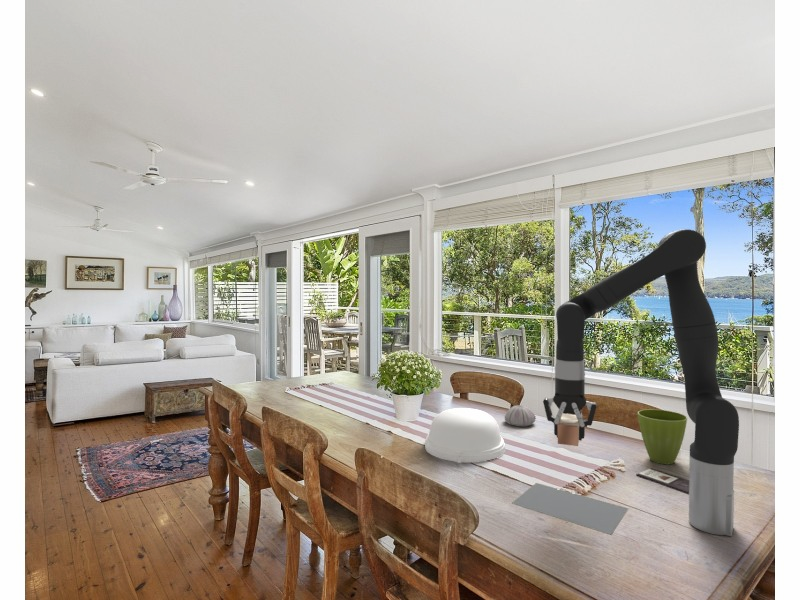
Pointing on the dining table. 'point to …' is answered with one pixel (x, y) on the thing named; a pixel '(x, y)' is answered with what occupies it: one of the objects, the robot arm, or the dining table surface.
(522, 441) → the dining table surface
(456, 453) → the dome cover
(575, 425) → the birch block
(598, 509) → the rubber mat
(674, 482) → the chocolate bar
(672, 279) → the robot arm
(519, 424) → the sea urchin shell
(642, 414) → the flower pot
